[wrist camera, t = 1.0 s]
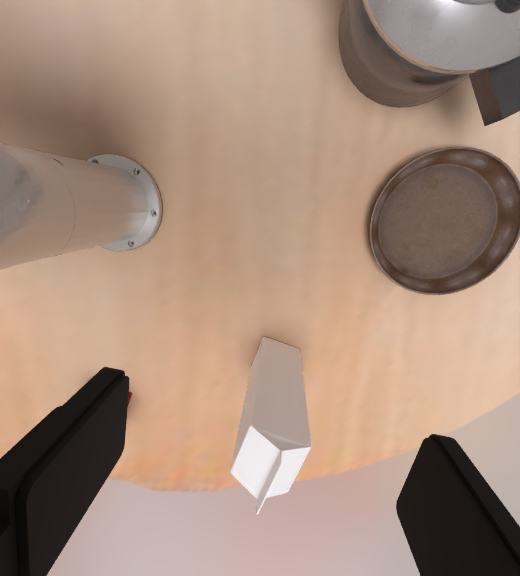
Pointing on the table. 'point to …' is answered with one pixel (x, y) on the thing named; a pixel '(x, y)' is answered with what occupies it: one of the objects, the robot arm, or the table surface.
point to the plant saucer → (446, 220)
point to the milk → (272, 423)
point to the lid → (449, 32)
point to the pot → (416, 72)
